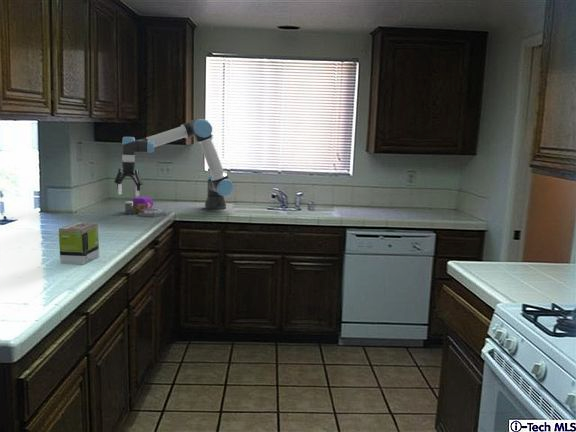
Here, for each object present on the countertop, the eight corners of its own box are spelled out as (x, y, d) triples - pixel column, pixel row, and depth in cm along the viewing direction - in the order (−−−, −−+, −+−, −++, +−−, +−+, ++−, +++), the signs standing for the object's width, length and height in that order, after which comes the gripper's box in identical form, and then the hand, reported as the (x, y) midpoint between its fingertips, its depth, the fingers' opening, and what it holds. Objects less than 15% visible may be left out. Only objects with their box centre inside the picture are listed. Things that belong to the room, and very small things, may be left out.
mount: (165, 214, 349) (165, 209, 348) (154, 217, 338) (154, 211, 337) (150, 213, 353) (150, 207, 353) (138, 215, 342) (138, 210, 342)
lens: (134, 214, 347) (134, 201, 346) (129, 215, 343) (129, 202, 342) (128, 213, 349) (128, 201, 348) (123, 214, 345) (123, 201, 344)
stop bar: (145, 213, 351) (145, 204, 350) (143, 213, 349) (143, 204, 348) (129, 211, 356) (129, 202, 355) (127, 212, 354) (127, 203, 353)
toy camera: (155, 210, 365) (155, 195, 364) (147, 213, 352) (146, 198, 350) (140, 209, 367) (140, 195, 365) (131, 212, 353) (131, 197, 352)
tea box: (77, 255, 232) (76, 221, 230) (99, 256, 231) (99, 222, 229) (59, 264, 217) (58, 227, 215) (83, 265, 216) (82, 228, 214)
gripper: (148, 162, 340) (148, 196, 343) (116, 160, 349) (116, 193, 352) (141, 162, 333) (140, 197, 336) (108, 160, 342) (108, 194, 345)
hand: (128, 195), depth 344 cm, fingers open, 13 cm apart
